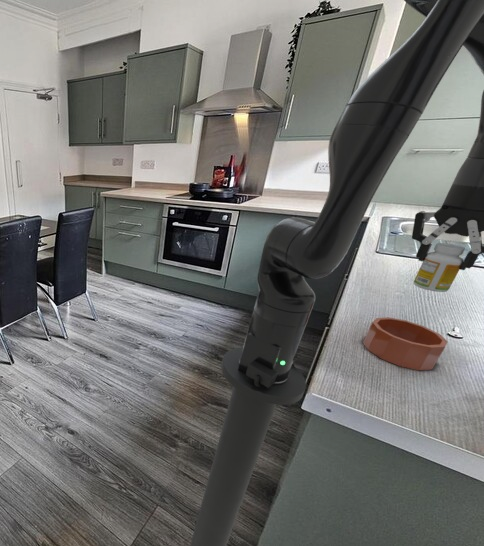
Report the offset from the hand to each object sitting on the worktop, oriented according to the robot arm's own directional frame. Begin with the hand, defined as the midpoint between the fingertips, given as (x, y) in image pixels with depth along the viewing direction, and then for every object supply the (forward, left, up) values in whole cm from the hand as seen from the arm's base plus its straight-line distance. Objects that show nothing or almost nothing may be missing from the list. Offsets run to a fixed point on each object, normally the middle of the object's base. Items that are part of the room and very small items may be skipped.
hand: (441, 264), depth 66 cm
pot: (-5, 0, -21) cm, 21 cm away
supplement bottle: (0, 0, -6) cm, 6 cm away
